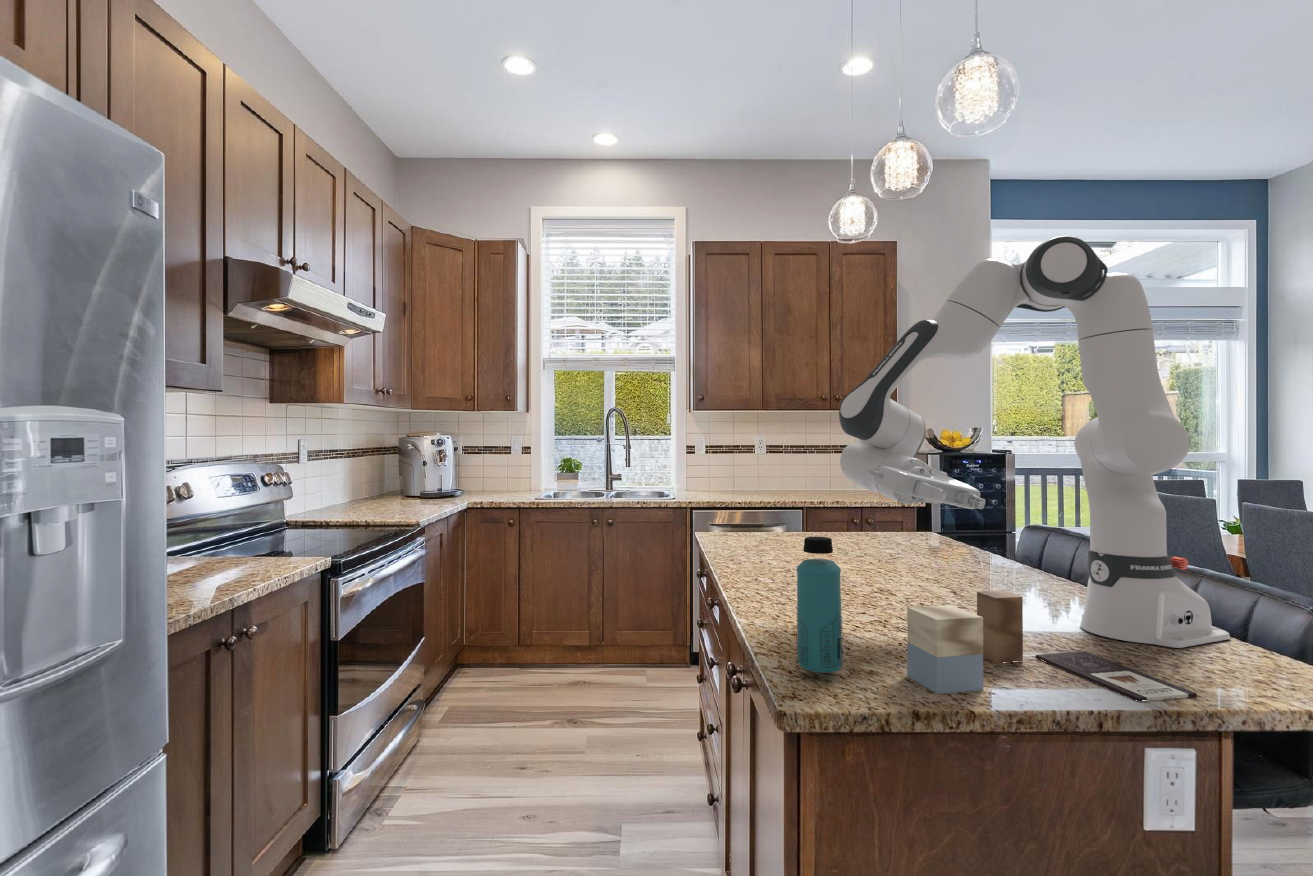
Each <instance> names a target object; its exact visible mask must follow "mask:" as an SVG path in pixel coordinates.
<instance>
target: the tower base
mask: <svg viewBox="0 0 1313 876" xmlns="http://www.w3.org/2000/svg"><path fill="white" fill-rule="evenodd" d="M906 643H907V644H906V645H907V646H906V647H907V648H906V650H907V655H906V656H907V657H906V662H907V663H906V664H907V667H906V668H907V669H906V670H907V673H906V674H907V677H908V678H910V679H911V680H913V681H915V683H917V684H919V685H921V686H923V687H925V688H926V687H927V688H926V689H928V690H929V689H930V690H929V691H931V692H933V691H934V692H935V693H934V692H933V693H934V694H936V695H938V694H940V693H942V695H943V694H953V693H955V694H956V693H965V692H966V693H967V691H968V692H978V691H984V658H983V654H978V655H963V656H948V657H936V656H934V655H932V654H930V653H928V652H926V651H924V650H922V649H920V648H918V647H916V646H914V645H912V644H910V643H908V641H907V642H906Z"/></svg>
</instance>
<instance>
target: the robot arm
mask: <svg viewBox="0 0 1313 876" xmlns="http://www.w3.org/2000/svg"><path fill="white" fill-rule="evenodd" d="M1108 270H1109V269H1108V266H1107V265H1106V264H1105V263H1104V262H1103V260H1101V259H1100V258H1099V256H1098V255H1097V253H1096V252H1095V251H1094V249H1093V248H1092V247H1091V246H1090V245H1089V244H1088V243H1087V242H1086V241H1085V240H1083V239H1081V238H1078V237H1076V236H1072V235H1071V236H1070V235H1063V236H1062V235H1061V236H1056V237H1053V238H1052V237H1051V238H1050V239H1048V240H1045V241H1044V242H1041V244H1039V245H1038V246H1037V247H1035V249H1033V251H1032V252H1031V253H1030V254H1029V257H1028V258H1027V259H1026V260H1025V261H1024V262H1021V263H1010V262H1009V261H1007V260H1004V259H999V258H987V259H983V260H981V261H979V262H977V263H976V264H975V265H974V266H973V267H972V268H971V269H970V271H969V272H967V273H966V275H964V277H963V278H962V279H961V281H960V282H959V283H958V284H957V286H956V287H955V288H954V289H953V290H952V292H951V293H950V295H949V296H948V298H947V299H946V301H945V302H944V304H943V305H942V306H941V307H940V308H939V310H937V312H935V314H932V316H931V317H929V318H928V319H922V320H919V321H918V322H916V323H915V324H913V325H912V326H911V327H909V329H907V331H906V332H904V333H903V335H902V336H901V337H900V338H899V339H898V340H897V341H896V343H895V344H893V346H892V347H891V348H890V349H889V351H888V352H887V353H886V354H885V355H884V356H883V358H882V359H881V360H880V361H879V362H878V364H876V366H875V367H874V368H873V369H872V370H871V371H870V373H869V374H867V376H866V377H865V378H864V379H863V380H862V381H861V382H860V383H859V384H858V385H857V386H855V387H854V388H853V389H852V390H851V391H850V392H848V394H847V395H846V396H845V397H844V398H843V399H842V401H841V402H840V405H839V409H838V410H839V411H838V418H839V419H838V420H839V423H840V426H841V429H842V431H843V432H844V433H845V434H847V435H848V436H850V437H854V438H857V439H858V440H857V441H855V442H852V443H850V444H848V445H846V447H844V449H843V450H842V452H841V454H840V458H839V463H840V468H841V471H842V473H843V474H844V475H845V476H846V478H847V479H848V480H850V481H851V482H852V483H855V485H858V486H859V487H862V488H864V489H867V490H868V491H871V492H878V493H879V494H880V495H882V496H883V497H886V498H889V499H890V500H892V501H896V502H899V503H901V504H904V505H911V504H919V503H923V504H925V503H926V504H935V505H938V504H944V505H945V504H946V505H951V506H955V507H959V508H964V509H968V510H975V509H979V510H983V509H984V508H985V505H986V499H985V498H981V492H980V490H979V489H978V488H976V487H974V486H971V485H969V484H966V483H964V482H963V481H959V480H957V479H955V478H953V477H950V476H948V473H947V472H945V471H943V470H940V469H937V468H934V467H932V466H930V464H927V463H925V462H924V461H923V460H921V459H919V458H916V456H917V454H918V453H919V451H921V447H922V445H923V443H924V441H925V438H926V424H925V421H924V419H923V417H922V416H921V415H919V414H918V413H916V412H914V411H913V410H911V409H909V408H907V407H906V406H904V405H902V404H900V403H899V402H897V401H896V400H893V399H892V398H891V396H892V394H893V392H894V391H895V390H896V389H897V387H898V386H900V384H901V383H902V382H903V381H904V380H905V378H906V377H907V376H908V375H909V374H910V372H911V371H912V370H913V369H914V368H915V367H916V366H918V364H919V363H921V362H922V361H925V360H927V359H932V358H945V359H954V360H955V359H956V360H957V359H959V360H961V359H967V358H970V357H973V356H976V355H978V354H980V353H981V352H982V351H983V350H985V348H987V346H989V344H990V343H991V342H992V340H994V337H995V336H996V334H997V333H998V332H999V331H1000V329H1001V327H1002V326H1003V324H1004V322H1005V321H1006V320H1007V318H1008V317H1009V315H1010V314H1011V313H1012V312H1013V311H1014V310H1015V308H1018V309H1023V310H1024V309H1025V310H1031V311H1033V312H1034V311H1035V312H1040V313H1042V312H1043V313H1049V312H1050V313H1051V312H1056V311H1059V310H1061V309H1063V308H1067V309H1068V310H1069V312H1071V313H1072V315H1073V317H1074V320H1075V323H1076V326H1077V327H1076V330H1077V331H1076V333H1077V341H1078V343H1077V344H1078V349H1079V350H1078V352H1079V360H1080V369H1081V380H1082V383H1083V386H1084V387H1085V389H1086V390H1087V391H1088V394H1089V396H1090V398H1091V401H1092V403H1093V406H1094V409H1095V411H1096V414H1097V417H1095V418H1092V420H1090V421H1088V422H1087V423H1086V424H1084V425H1083V426H1082V427H1081V428H1080V429H1079V430H1078V431H1077V432H1076V433H1077V434H1076V435H1075V438H1074V451H1075V452H1076V454H1077V456H1078V458H1079V460H1080V465H1081V470H1082V475H1083V481H1084V484H1085V490H1086V494H1087V498H1088V505H1089V506H1088V507H1089V527H1090V528H1089V536H1090V537H1089V539H1090V540H1089V541H1090V546H1089V547H1090V549H1088V550H1087V556H1086V560H1087V566H1086V567H1087V570H1088V574H1089V578H1088V579H1087V580H1088V581H1087V588H1086V594H1085V595H1086V596H1085V597H1086V598H1085V602H1084V603H1085V604H1084V608H1083V609H1084V610H1083V613H1082V615H1081V621H1080V626H1079V627H1080V628H1081V629H1083V630H1084V631H1086V632H1089V633H1091V634H1095V635H1096V636H1097V635H1098V636H1101V637H1106V638H1109V639H1114V640H1121V641H1126V642H1133V643H1138V644H1140V643H1141V644H1147V645H1148V644H1150V645H1157V646H1162V647H1167V648H1176V649H1177V648H1178V649H1183V648H1186V647H1187V648H1188V647H1192V646H1198V645H1203V644H1209V643H1214V642H1221V641H1225V640H1229V639H1231V636H1230V633H1229V631H1226V630H1225V629H1221V628H1219V627H1216V626H1213V625H1212V616H1211V608H1210V605H1209V603H1208V602H1207V600H1206V599H1204V598H1203V597H1202V596H1201V595H1200V594H1198V593H1197V592H1196V591H1194V590H1193V589H1192V588H1190V587H1189V586H1187V585H1186V583H1184V582H1183V581H1181V580H1180V579H1179V578H1178V577H1176V576H1177V572H1176V570H1175V569H1180V570H1187V569H1188V567H1189V560H1188V559H1187V558H1185V557H1178V556H1172V557H1170V556H1169V555H1168V551H1167V550H1168V549H1167V547H1168V546H1167V545H1168V544H1167V541H1168V540H1167V511H1166V508H1165V506H1164V504H1163V502H1162V501H1161V498H1160V497H1159V494H1158V491H1157V488H1156V484H1155V482H1154V477H1153V476H1154V475H1157V474H1161V473H1164V472H1167V471H1169V470H1172V469H1173V468H1175V467H1177V466H1178V465H1180V464H1181V463H1182V462H1183V461H1184V460H1185V458H1186V456H1187V455H1188V453H1189V449H1190V437H1189V433H1188V432H1187V430H1186V428H1185V427H1184V425H1182V423H1181V422H1180V421H1179V420H1178V419H1177V418H1176V416H1175V414H1174V412H1173V409H1172V408H1171V404H1170V402H1169V400H1168V397H1167V394H1166V392H1165V390H1164V387H1163V384H1162V381H1161V378H1160V373H1159V369H1158V362H1157V360H1158V359H1157V353H1156V345H1155V344H1156V343H1155V336H1154V329H1153V321H1152V316H1151V311H1150V310H1151V309H1150V307H1149V303H1148V299H1147V296H1146V293H1145V290H1144V287H1143V286H1142V283H1141V281H1140V279H1138V278H1137V277H1136V276H1134V275H1133V274H1130V273H1125V272H1111V273H1110V272H1109V273H1108Z"/></svg>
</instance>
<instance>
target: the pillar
mask: <svg viewBox="0 0 1313 876" xmlns="http://www.w3.org/2000/svg"><path fill="white" fill-rule="evenodd" d="M1023 601H1024V600H1023V596H1022V595H1018V594H1014V593H1011V592H1008V591H1005V590H988V591H987V590H986V591H985V590H984V591H976V615H978V616H981V617H983V659H986V660H987V659H989V660H991V661H992V662H991V661H990V662H991V663H994V662H995V663H994V664H996V665H999V664H998V663H1003V662H1013V661H1023V662H1024V653H1023V652H1024V639H1023V638H1024V636H1023V633H1024V631H1023V629H1024V627H1023V626H1024V621H1023V614H1024V613H1023V610H1024V609H1023V607H1024V606H1023ZM989 660H988V661H989Z"/></svg>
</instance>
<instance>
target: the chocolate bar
mask: <svg viewBox="0 0 1313 876" xmlns="http://www.w3.org/2000/svg"><path fill="white" fill-rule="evenodd" d="M1036 658H1038V659H1037V660H1039V659H1042V660H1044V661H1046V662H1047V663H1046V662H1045V663H1046V664H1048V663H1049V664H1048V665H1050V664H1052V665H1051V666H1053V665H1054V666H1053V667H1055V666H1056V667H1055V668H1057V669H1060V668H1061V670H1062V671H1065V672H1067V673H1069V674H1071V673H1072V675H1074V676H1077V677H1078V678H1081V679H1083V678H1084V680H1085V679H1086V680H1085V681H1088V680H1089V682H1090V683H1092V682H1094V683H1093V684H1095V683H1097V684H1099V685H1100V686H1099V685H1098V686H1099V687H1102V688H1104V687H1106V688H1105V689H1107V688H1108V689H1107V690H1109V691H1112V692H1114V691H1115V692H1114V693H1116V692H1117V693H1116V694H1118V693H1120V694H1119V695H1120V696H1123V697H1125V696H1127V697H1126V698H1128V697H1129V698H1128V699H1130V698H1131V699H1130V700H1132V699H1133V700H1132V701H1135V700H1137V701H1142V700H1158V701H1166V700H1165V699H1171V700H1175V699H1174V698H1183V699H1187V698H1186V697H1196V698H1198V695H1197V694H1198V692H1194V691H1192V690H1190V689H1187V688H1183V687H1181V686H1178V685H1176V684H1173V683H1171V682H1169V681H1168V682H1167V681H1165V680H1163V679H1161V678H1158V677H1155V676H1153V675H1150V674H1147V673H1144V672H1142V671H1139V670H1137V669H1134V668H1131V667H1128V666H1126V665H1123V664H1121V663H1117V662H1115V661H1113V660H1110V659H1107V658H1104V657H1102V656H1099V655H1096V654H1094V653H1091V652H1088V651H1087V650H1086V651H1083V650H1082V651H1073V652H1059V653H1058V652H1057V653H1055V652H1054V653H1042V654H1035V659H1036ZM1097 684H1096V685H1097ZM1137 701H1136V702H1137Z"/></svg>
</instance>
